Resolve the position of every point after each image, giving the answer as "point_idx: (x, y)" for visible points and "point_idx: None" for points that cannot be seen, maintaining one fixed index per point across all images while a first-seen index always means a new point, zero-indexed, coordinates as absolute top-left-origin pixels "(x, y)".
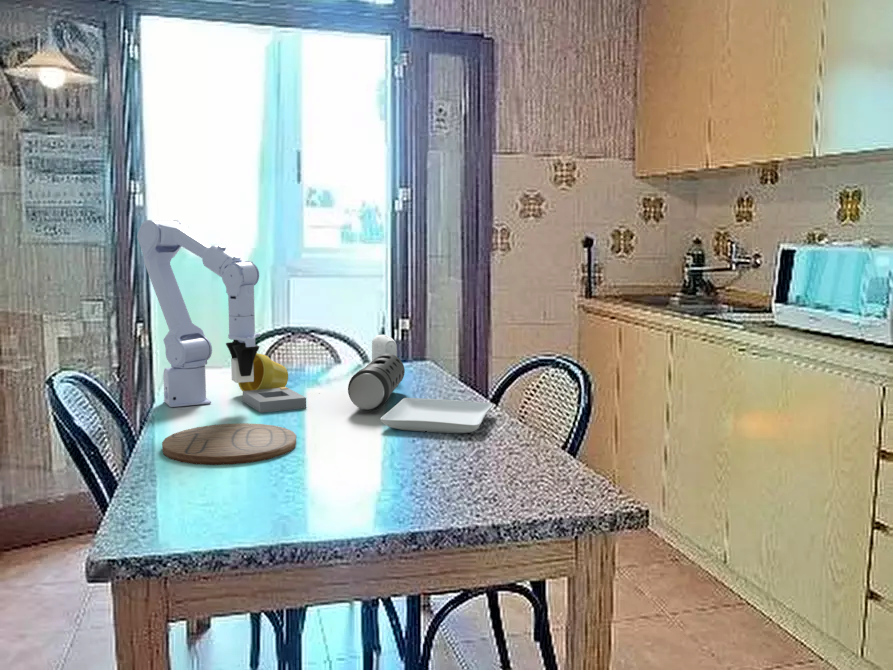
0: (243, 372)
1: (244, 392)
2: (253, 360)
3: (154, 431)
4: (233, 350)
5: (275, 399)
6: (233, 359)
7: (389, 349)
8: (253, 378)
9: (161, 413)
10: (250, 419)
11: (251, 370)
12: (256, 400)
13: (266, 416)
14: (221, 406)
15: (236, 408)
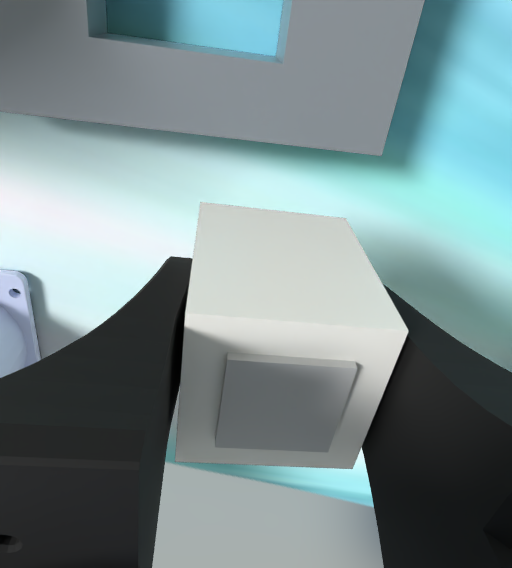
0: None
1: (17, 112)
2: (471, 352)
3: (366, 495)
4: (154, 528)
5: (382, 23)
6: (249, 461)
7: None
8: (349, 229)
9: None
10: (448, 233)
11: (397, 296)
12: (308, 146)
13: (455, 144)
14: (100, 245)
15: (185, 201)
